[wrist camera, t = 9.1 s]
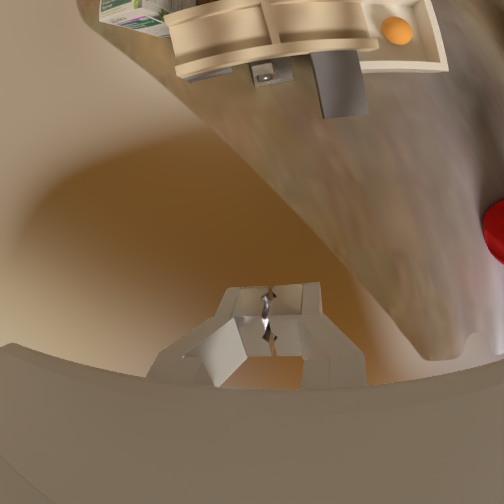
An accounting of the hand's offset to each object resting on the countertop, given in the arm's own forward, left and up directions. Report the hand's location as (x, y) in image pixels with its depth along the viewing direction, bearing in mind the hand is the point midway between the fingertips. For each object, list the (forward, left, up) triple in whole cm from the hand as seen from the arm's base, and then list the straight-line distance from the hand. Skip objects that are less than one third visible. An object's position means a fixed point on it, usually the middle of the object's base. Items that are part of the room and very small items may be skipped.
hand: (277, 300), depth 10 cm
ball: (-15, +15, -28) cm, 35 cm away
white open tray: (-15, +13, -31) cm, 37 cm away
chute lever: (-11, -1, -27) cm, 30 cm away
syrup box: (-23, -13, -31) cm, 41 cm away
